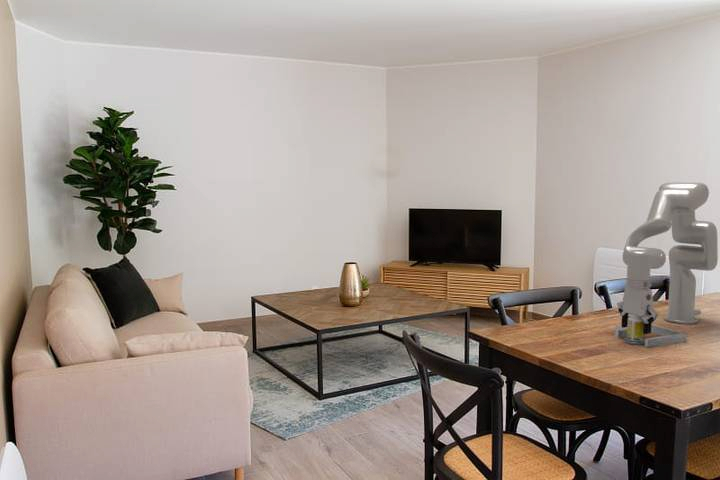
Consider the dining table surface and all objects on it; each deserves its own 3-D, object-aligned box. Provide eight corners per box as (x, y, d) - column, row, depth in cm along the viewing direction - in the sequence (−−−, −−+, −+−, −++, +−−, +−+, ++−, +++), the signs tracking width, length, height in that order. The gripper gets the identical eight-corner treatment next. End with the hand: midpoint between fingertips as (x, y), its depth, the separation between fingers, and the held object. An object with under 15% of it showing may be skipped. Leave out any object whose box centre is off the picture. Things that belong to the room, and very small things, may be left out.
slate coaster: (634, 337, 216) (634, 336, 216) (652, 343, 209) (652, 342, 209) (618, 340, 213) (618, 338, 213) (635, 346, 206) (635, 344, 206)
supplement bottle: (646, 340, 211) (647, 313, 210) (639, 343, 207) (640, 315, 206) (631, 337, 215) (632, 310, 214) (623, 339, 212) (625, 312, 210)
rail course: (642, 329, 228) (643, 321, 228) (686, 341, 211) (686, 333, 210) (605, 334, 221) (605, 326, 221) (647, 347, 204) (647, 339, 203)
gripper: (666, 287, 202) (663, 335, 204) (626, 279, 218) (624, 323, 220) (650, 289, 199) (648, 337, 201) (611, 280, 215) (609, 325, 217)
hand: (635, 330), depth 211 cm, fingers open, 9 cm apart
